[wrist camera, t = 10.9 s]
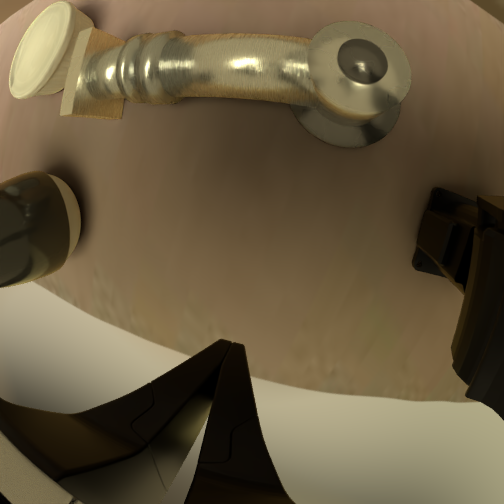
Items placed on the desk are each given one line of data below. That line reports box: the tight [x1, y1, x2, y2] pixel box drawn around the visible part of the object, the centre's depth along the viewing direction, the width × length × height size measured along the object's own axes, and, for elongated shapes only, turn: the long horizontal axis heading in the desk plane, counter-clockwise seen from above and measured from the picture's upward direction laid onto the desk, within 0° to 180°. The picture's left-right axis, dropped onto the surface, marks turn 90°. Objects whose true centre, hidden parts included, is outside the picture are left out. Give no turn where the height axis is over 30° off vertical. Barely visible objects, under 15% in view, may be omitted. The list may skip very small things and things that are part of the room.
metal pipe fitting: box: [60, 27, 401, 148], centre depth 14 cm, size 23×8×6 cm, turn 81°
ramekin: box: [9, 1, 94, 99], centre depth 15 cm, size 11×11×5 cm
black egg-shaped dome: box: [0, 171, 81, 288], centre depth 16 cm, size 10×10×15 cm
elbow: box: [134, 21, 411, 127], centre depth 13 cm, size 15×5×6 cm, turn 82°
